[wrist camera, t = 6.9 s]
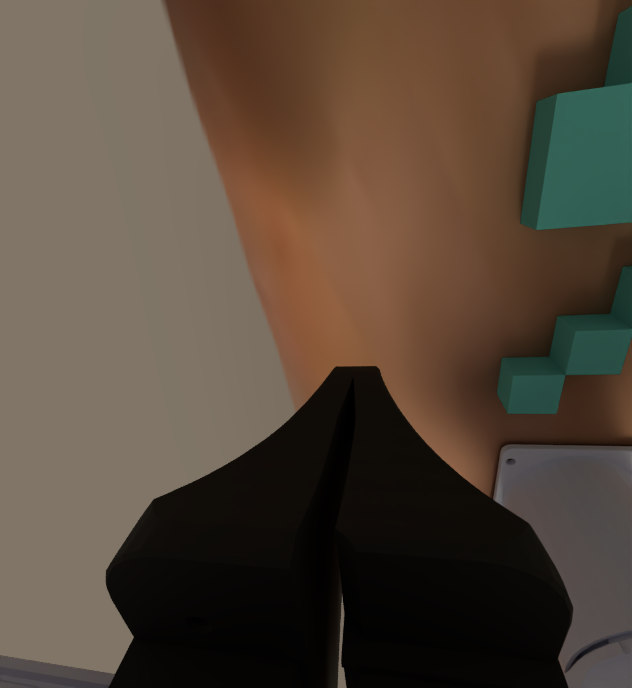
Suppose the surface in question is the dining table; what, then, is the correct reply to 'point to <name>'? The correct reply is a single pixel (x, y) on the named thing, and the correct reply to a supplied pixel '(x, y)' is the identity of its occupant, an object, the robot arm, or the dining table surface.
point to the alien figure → (579, 223)
